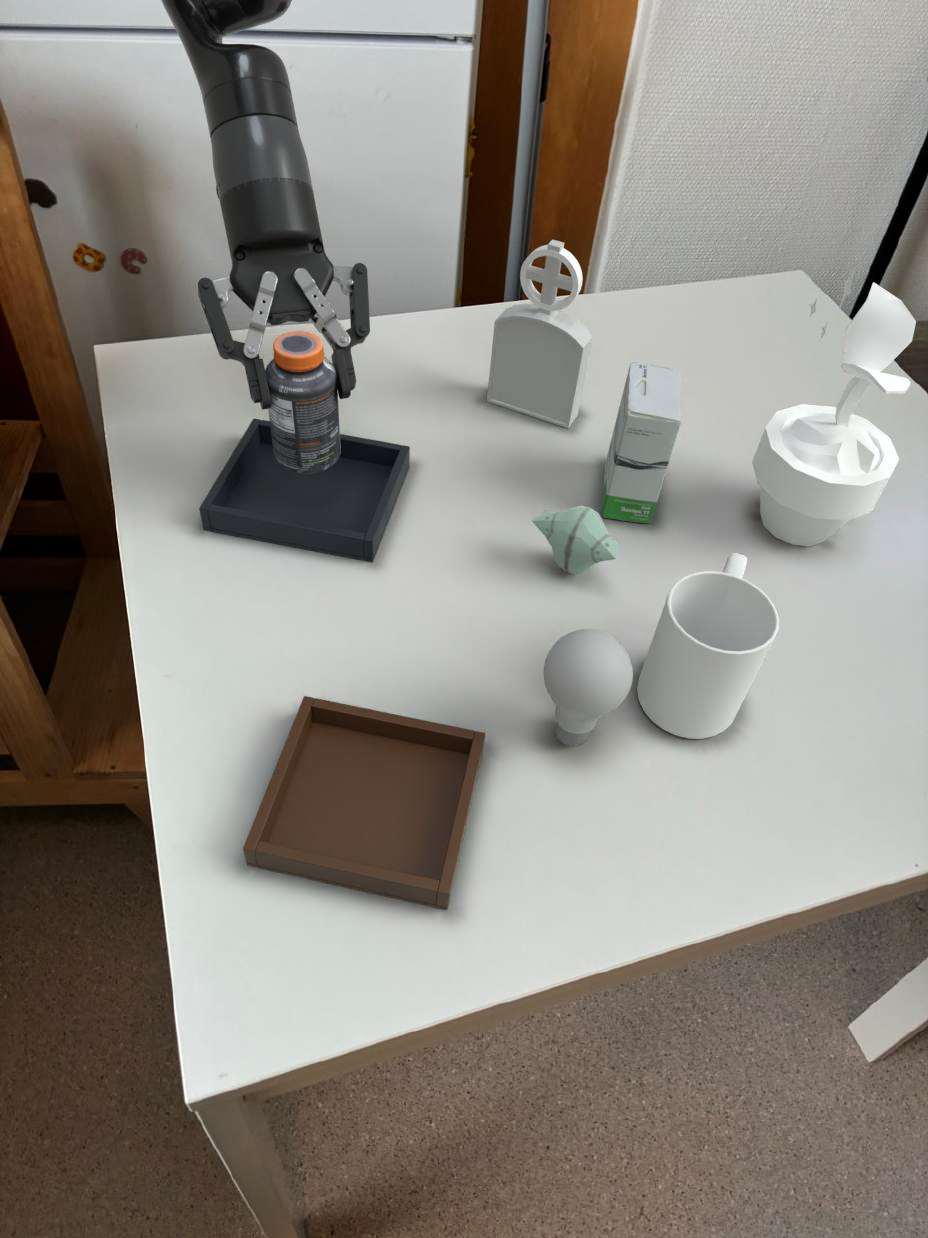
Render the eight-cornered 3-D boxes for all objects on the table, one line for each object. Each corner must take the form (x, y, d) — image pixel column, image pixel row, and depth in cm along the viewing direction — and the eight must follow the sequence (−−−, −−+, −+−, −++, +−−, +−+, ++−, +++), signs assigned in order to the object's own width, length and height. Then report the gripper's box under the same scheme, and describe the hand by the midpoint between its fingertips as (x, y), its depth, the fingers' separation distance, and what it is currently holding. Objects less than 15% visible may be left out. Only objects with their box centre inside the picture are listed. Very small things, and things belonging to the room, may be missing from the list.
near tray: (246, 865, 60) (242, 848, 58) (306, 714, 68) (304, 695, 66) (447, 910, 58) (449, 894, 57) (483, 750, 67) (485, 732, 65)
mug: (724, 755, 68) (768, 669, 60) (624, 718, 70) (654, 629, 62) (754, 644, 76) (797, 555, 68) (663, 613, 77) (695, 522, 69)
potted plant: (738, 474, 91) (831, 229, 72) (856, 503, 89) (982, 260, 70) (724, 556, 83) (824, 304, 64) (853, 590, 81) (995, 341, 62)
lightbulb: (607, 708, 70) (637, 614, 62) (612, 775, 66) (645, 684, 58) (529, 702, 70) (548, 607, 62) (530, 770, 66) (551, 677, 58)
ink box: (652, 526, 85) (683, 422, 76) (600, 518, 85) (625, 413, 76) (653, 468, 90) (683, 365, 82) (604, 461, 91) (628, 357, 82)
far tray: (203, 530, 80) (198, 508, 78) (256, 439, 89) (253, 417, 87) (372, 562, 79) (372, 541, 77) (409, 467, 88) (410, 445, 86)
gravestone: (568, 428, 94) (599, 263, 80) (486, 401, 96) (503, 235, 83) (577, 415, 96) (609, 250, 82) (497, 388, 98) (515, 224, 84)
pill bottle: (341, 434, 83) (337, 323, 74) (339, 476, 79) (334, 364, 70) (276, 433, 82) (263, 321, 74) (270, 475, 78) (257, 362, 70)
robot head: (521, 564, 80) (530, 506, 75) (543, 538, 83) (553, 480, 77) (601, 602, 78) (617, 545, 73) (621, 574, 80) (638, 517, 75)
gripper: (172, 180, 67) (218, 406, 69) (360, 167, 71) (399, 381, 73) (176, 218, 74) (217, 421, 76) (346, 204, 78) (382, 399, 80)
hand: (306, 401), depth 74 cm, fingers closed on pill bottle, 6 cm apart
